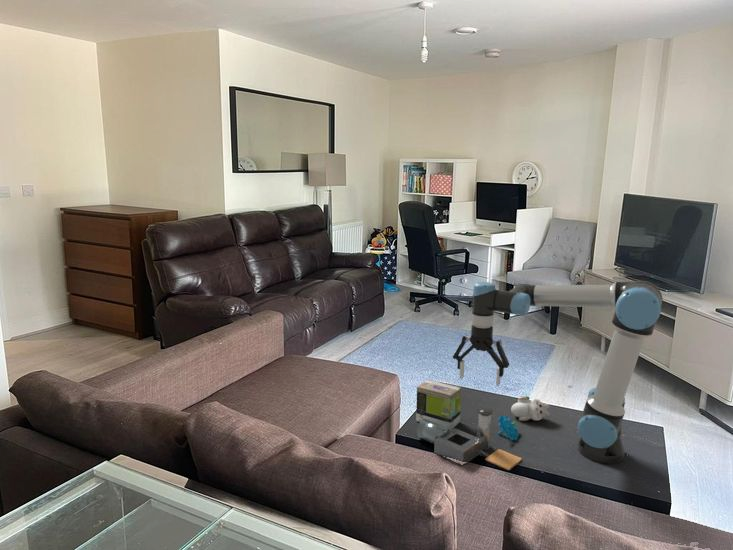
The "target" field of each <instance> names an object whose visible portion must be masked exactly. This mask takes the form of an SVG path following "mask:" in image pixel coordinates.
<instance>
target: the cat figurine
mask: <svg viewBox="0 0 733 550" xmlns="http://www.w3.org/2000/svg"><path fill="white" fill-rule="evenodd" d="M550 407H551V406H550V404H549V403H544V402H543V401H540V399H538V398H533V399H532V400H530V396H520V397H518V398H517V402H515V403H513V404H512V405H511V408H510V410H511V414H512V415H513V416H515V417H517V418H518V421H520V422H527V421H529V420H532V421H540V420H542V419H544V418H545V417H551V413H550V412H549V410H548V409H550Z"/></svg>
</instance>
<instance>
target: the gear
mask: <svg viewBox="0 0 733 550" xmlns="http://www.w3.org/2000/svg"><path fill="white" fill-rule="evenodd" d="M497 421H498V422H499V423H498V427H499V428H501V429H500V431H497V432H498V433H497V434H498V435H499V436H500V435H502V434H504V433H505V434H504V436H505V438H506V439H508V438H509V440H510V441H511V442H512V441H517V440H518V438H519V436H520V434H518V433H519V429H518V428H516V426H517V422H516V421H513V420H512V419H511V418H508V415H502V414H501V415H500V416H499V418H498V419H497ZM511 422H512V423H511Z"/></svg>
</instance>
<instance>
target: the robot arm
mask: <svg viewBox="0 0 733 550" xmlns="http://www.w3.org/2000/svg"><path fill="white" fill-rule="evenodd" d="M662 306H663V294H662V292H661V290H660V289H659V288H658V286H656V285H655V284H653V283H651V282H649V281H645V280H632V281H631V280H630V281H615V282H614V283H612V284H530V283H525V282H522V283H519V284H517V285H516V286H514V287H513V288H512V289H511V290H509V291H508V290H500V289H497V288H496V284H495V283H493V282H489V281H479V282H475V284H474V285H473V292H472V310H471V311H472V312H471V313H472V314H471V329H470V330H471V332H470V336H468V335H467V334H463V336H462V337H461V342H460V344H459V346H458V347H457V349H456V351H455V352H454V354H453V356H452V359H454V360H456V361H457V370H459V379H460V380H462V379H464V377H465V359H464V358H465V357H466V356H467V355H468V354H469V353H470V352H471V351H473V350H474V349H475V350H476V351H482V352H487V354H488V355H490V357H491V358H492V359H493V361H494V363H495V364H496V366H497V368H496V382H495V384H496V386H497V387H498V386H500V384H501V378H503V376H504V373H505V371H504V369H507V368H508V367H509V366H510V363H509V360H508V357H507V355H506V353H505V351H504V348H503V345H502V340H501V339H498V340H494V339H493V337H494V336H493V334H494V332H493V331H494V327H493V325H494V315H495V312H499V313H503V314H511V315H515V316H519V315H520V316H526V315H527V314H528V313H529V311H530V307H569V308H570V307H573V308H575V307H578V308H579V307H580V308H581V307H582V308H612V309H613V310H615V311H614V313H613V317H612V320H611V324H612V327H614V331H613V334H612V337H611V341H610V342H609V343H610V344H609V347H608V350H607V352H606V356H605V360H604V362H603V365H602V368H601V370H600V371H601V372H600V374H599V378H598V380H597V384H596V386H595V388H591V389H589V390H588V393H587V398H586V401H585V404H584V407H583V411H582V413H581V417H580V419H579V420H578V422H577V432H578V435H579V439H578V442H577V449H578V452H579V453H580V454H581V455H582V456H583V457H586V458H587V459H590V460H592V461H595V462H598V463H602V464H618V463H620V462H622V461H623V460H624V458H625V448H624V443H623V439H622V429H623V420H624V416H625V414H626V410H625V405H626V398H625V397H626V393H627V392H628V388H629V385H630V382H631V379H632V377H633V373H634V370H635V368H636V365H637V361H638V359H639V356H640V353H641V350H642V347H643V345H644V342H645V341H644V340H645V339H646V338H648V337H651V336H652V335H653V332H654V329H655V327H656V324H657V320H659V318H660V316H661V312H662ZM468 342H470V343H471V346H469V347H468V348H467V349H466V350H465V351H464V352H462V351H463V348H464V347H465V346H466V345H465V344H467V343H468ZM493 345H494V347H495V348H496V350H497V352H498V354H497V353H496V351H495V350H494V348H493ZM461 352H462V354H461V355H460V353H461ZM498 355H499V356H498Z"/></svg>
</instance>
